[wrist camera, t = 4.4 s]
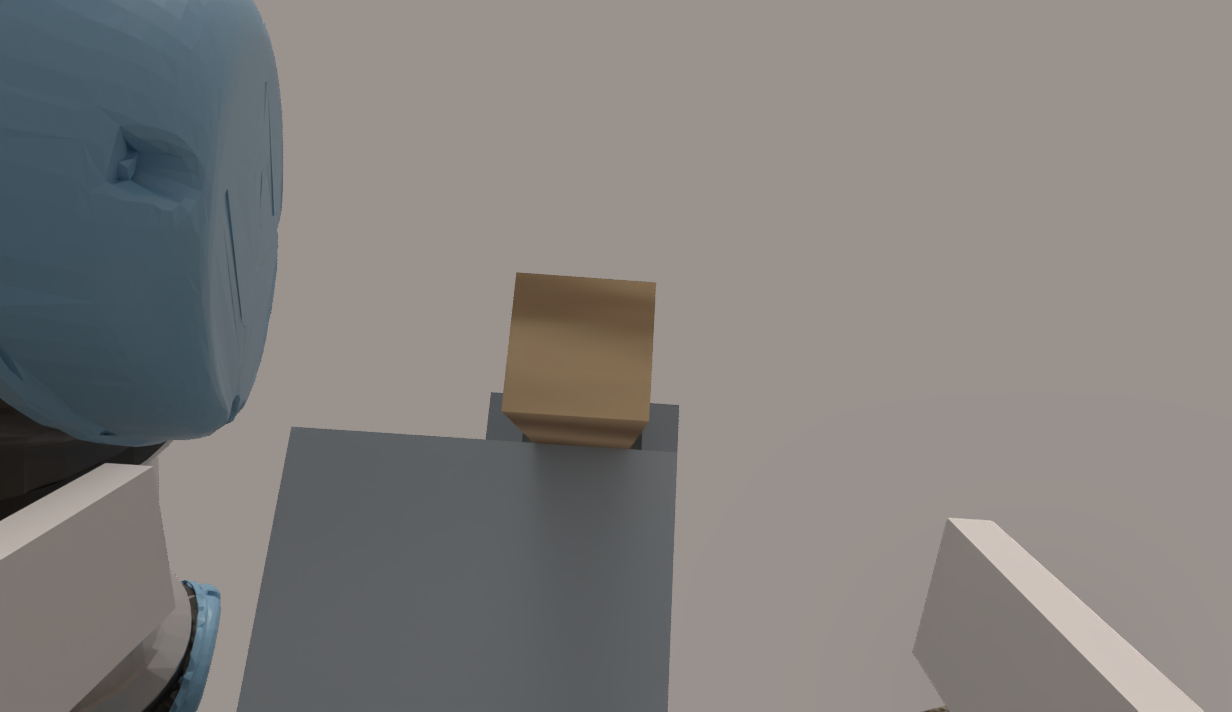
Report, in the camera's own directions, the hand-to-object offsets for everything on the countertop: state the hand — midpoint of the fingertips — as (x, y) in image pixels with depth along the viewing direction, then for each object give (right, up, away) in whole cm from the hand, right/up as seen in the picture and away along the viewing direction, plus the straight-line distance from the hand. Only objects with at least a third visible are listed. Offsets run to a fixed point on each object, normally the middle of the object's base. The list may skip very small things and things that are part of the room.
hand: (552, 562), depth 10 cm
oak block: (0, -1, +17) cm, 17 cm away
